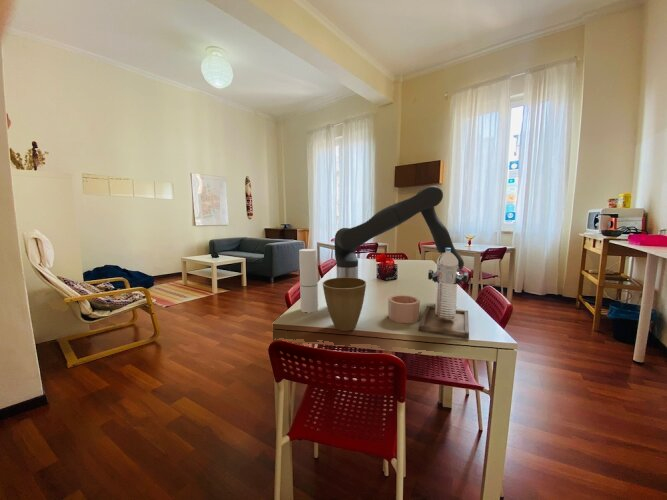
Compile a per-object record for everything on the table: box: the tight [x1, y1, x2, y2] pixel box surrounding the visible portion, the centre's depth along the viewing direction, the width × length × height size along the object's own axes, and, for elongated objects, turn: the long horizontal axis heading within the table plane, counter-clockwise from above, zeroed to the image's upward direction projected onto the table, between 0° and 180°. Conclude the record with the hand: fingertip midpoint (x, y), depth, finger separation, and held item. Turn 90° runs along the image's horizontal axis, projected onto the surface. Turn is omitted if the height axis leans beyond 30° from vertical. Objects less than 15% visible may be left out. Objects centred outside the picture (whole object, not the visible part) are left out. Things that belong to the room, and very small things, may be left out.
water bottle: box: [434, 248, 458, 320], centre depth 96 cm, size 7×7×25 cm
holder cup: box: [387, 294, 421, 324], centre depth 103 cm, size 11×11×7 cm
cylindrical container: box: [298, 248, 319, 314], centre depth 111 cm, size 7×7×25 cm
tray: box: [418, 305, 470, 340], centre depth 98 cm, size 15×22×2 cm
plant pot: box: [322, 277, 367, 332], centre depth 94 cm, size 15×15×16 cm
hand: (446, 280), depth 94 cm, fingers closed on water bottle, 6 cm apart
